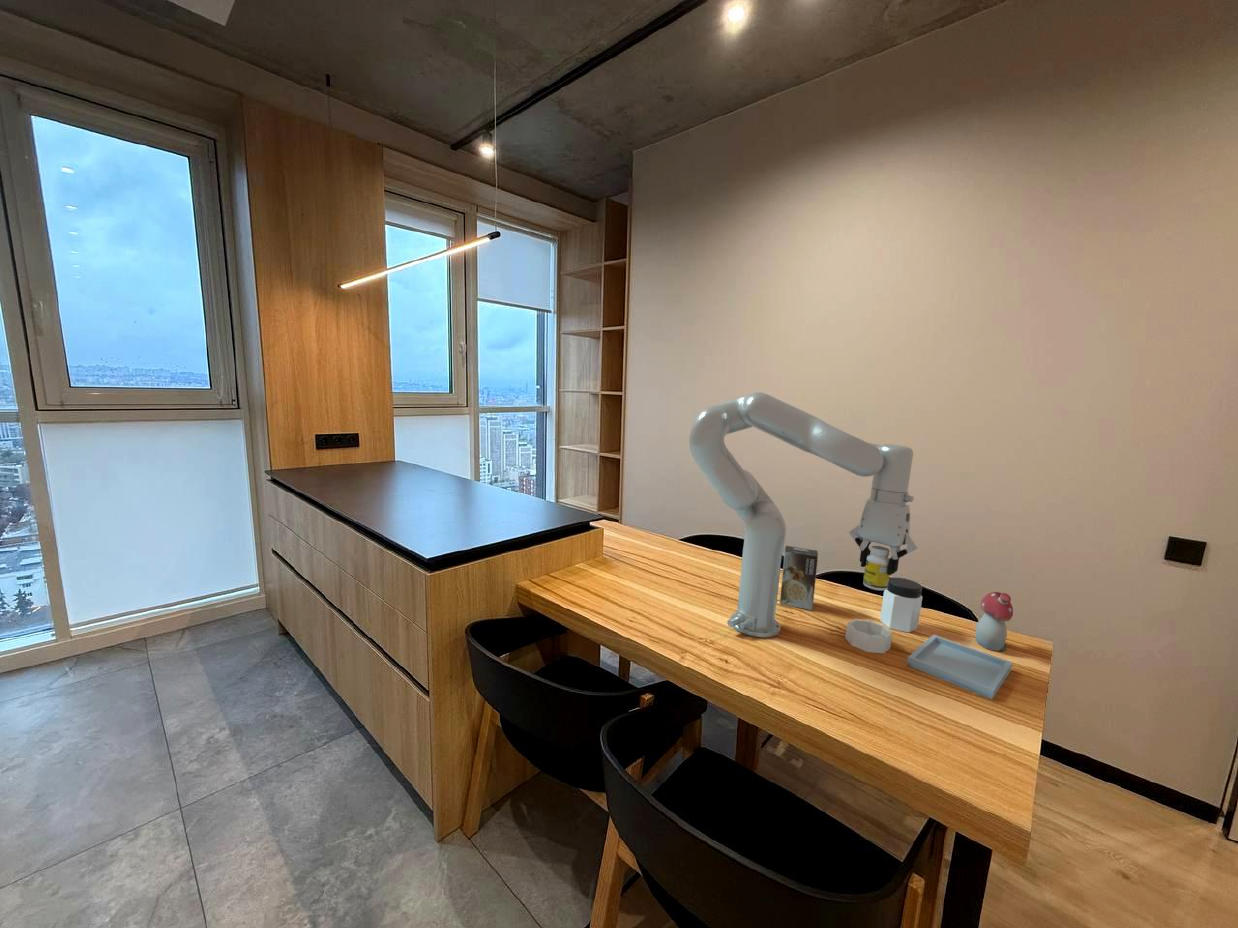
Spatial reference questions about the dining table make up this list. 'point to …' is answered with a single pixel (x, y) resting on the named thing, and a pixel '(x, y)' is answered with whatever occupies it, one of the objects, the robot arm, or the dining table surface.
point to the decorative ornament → (994, 621)
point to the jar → (901, 604)
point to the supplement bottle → (877, 568)
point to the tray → (961, 665)
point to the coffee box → (799, 577)
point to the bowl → (868, 636)
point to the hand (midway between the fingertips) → (877, 568)
